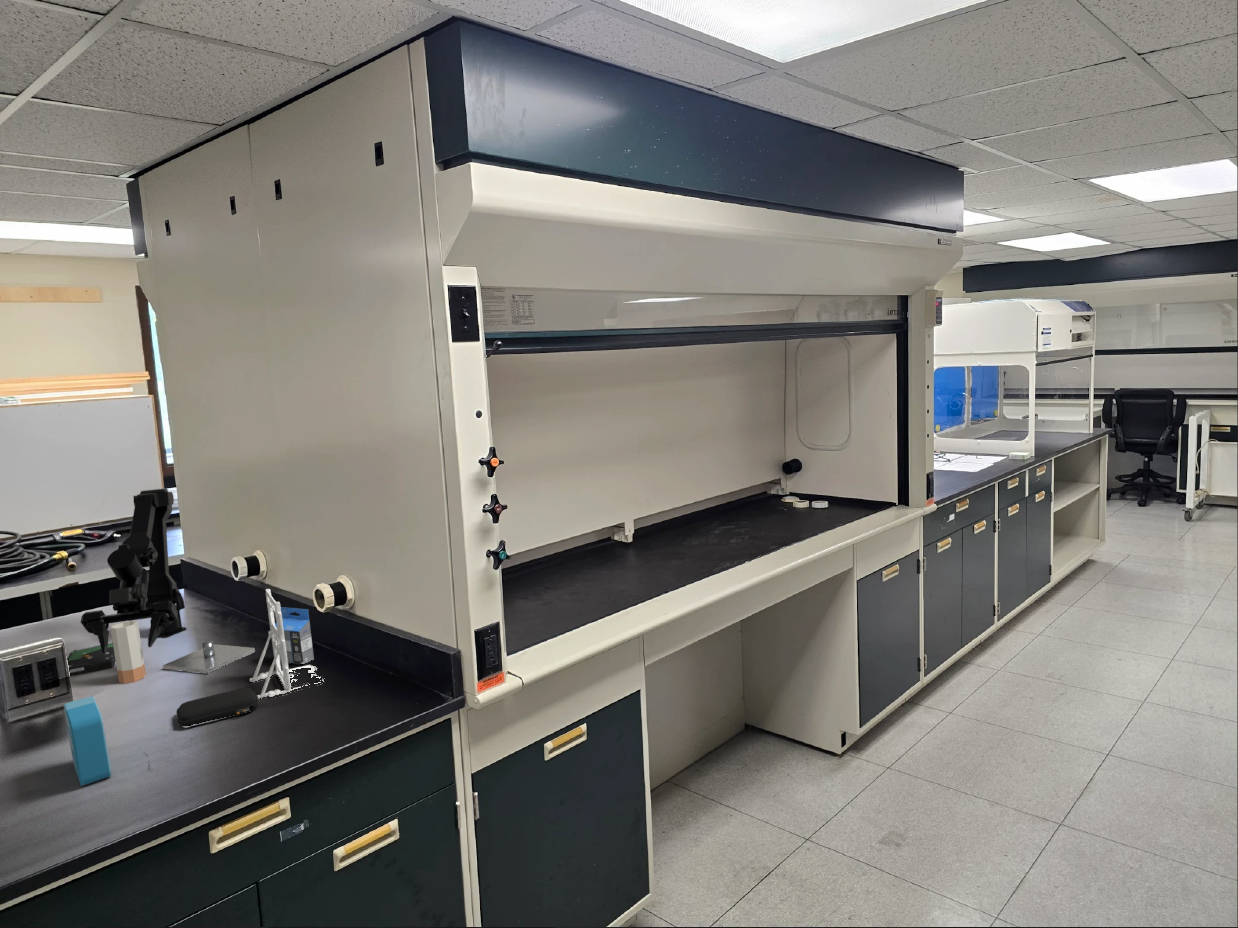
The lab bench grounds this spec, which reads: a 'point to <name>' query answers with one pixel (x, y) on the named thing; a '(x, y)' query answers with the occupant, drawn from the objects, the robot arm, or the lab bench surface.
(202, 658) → the pin plate
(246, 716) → the lab bench surface
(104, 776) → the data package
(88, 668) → the disk drive
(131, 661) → the sleeve
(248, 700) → the carrying case or bag
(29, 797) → the lab bench surface
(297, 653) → the label tape cartridge
